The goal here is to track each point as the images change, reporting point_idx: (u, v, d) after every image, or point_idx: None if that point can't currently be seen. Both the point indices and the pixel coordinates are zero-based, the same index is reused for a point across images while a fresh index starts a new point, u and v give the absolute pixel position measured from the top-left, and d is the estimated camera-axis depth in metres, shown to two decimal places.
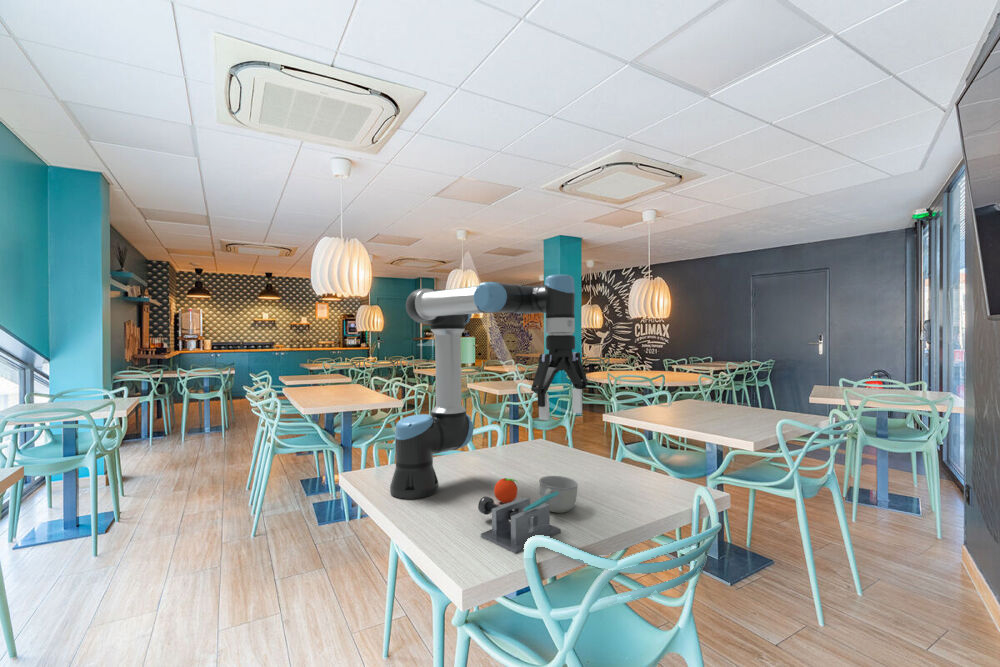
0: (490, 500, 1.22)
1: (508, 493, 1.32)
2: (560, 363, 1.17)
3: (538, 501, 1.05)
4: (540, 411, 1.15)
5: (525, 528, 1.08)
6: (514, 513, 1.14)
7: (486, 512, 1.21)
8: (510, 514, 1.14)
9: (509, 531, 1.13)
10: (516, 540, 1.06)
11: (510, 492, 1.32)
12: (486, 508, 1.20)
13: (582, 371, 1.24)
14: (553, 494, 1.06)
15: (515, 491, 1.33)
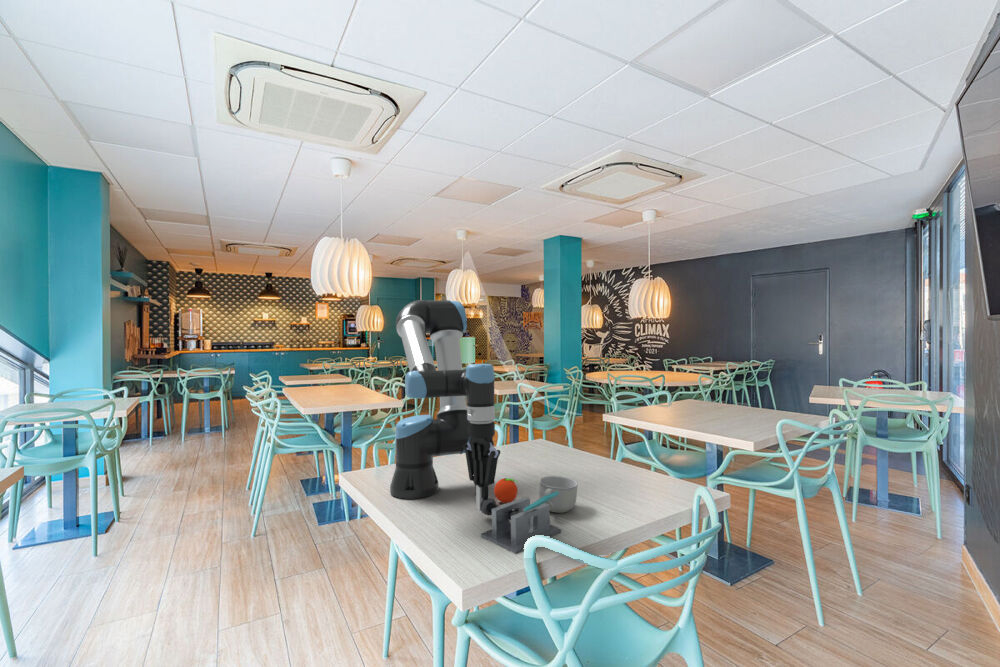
0: (492, 501, 1.22)
1: (508, 493, 1.32)
2: (472, 450, 1.23)
3: (538, 501, 1.05)
4: None
5: (525, 528, 1.08)
6: None
7: (488, 513, 1.21)
8: None
9: (509, 531, 1.13)
10: (516, 540, 1.06)
11: (510, 492, 1.32)
12: (488, 509, 1.20)
13: (487, 469, 1.20)
14: (553, 494, 1.06)
15: (515, 491, 1.33)
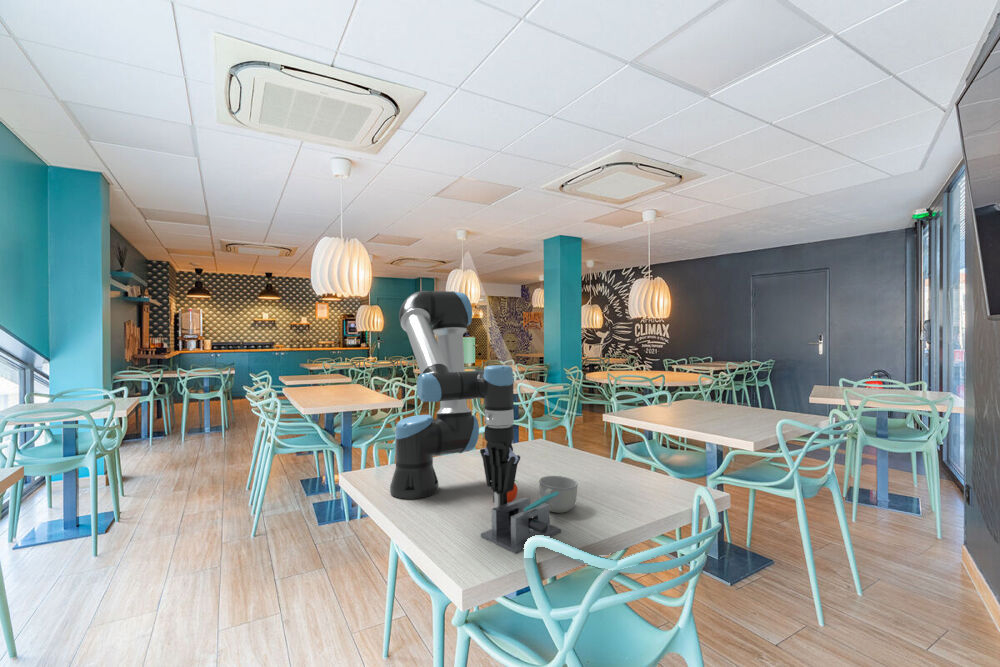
0: None
1: (508, 493, 1.32)
2: (490, 455, 1.18)
3: (538, 501, 1.05)
4: None
5: (525, 528, 1.08)
6: (538, 522, 1.08)
7: None
8: (534, 523, 1.08)
9: (509, 531, 1.13)
10: (516, 540, 1.06)
11: (510, 492, 1.32)
12: None
13: (506, 475, 1.15)
14: (553, 494, 1.06)
15: (515, 491, 1.33)
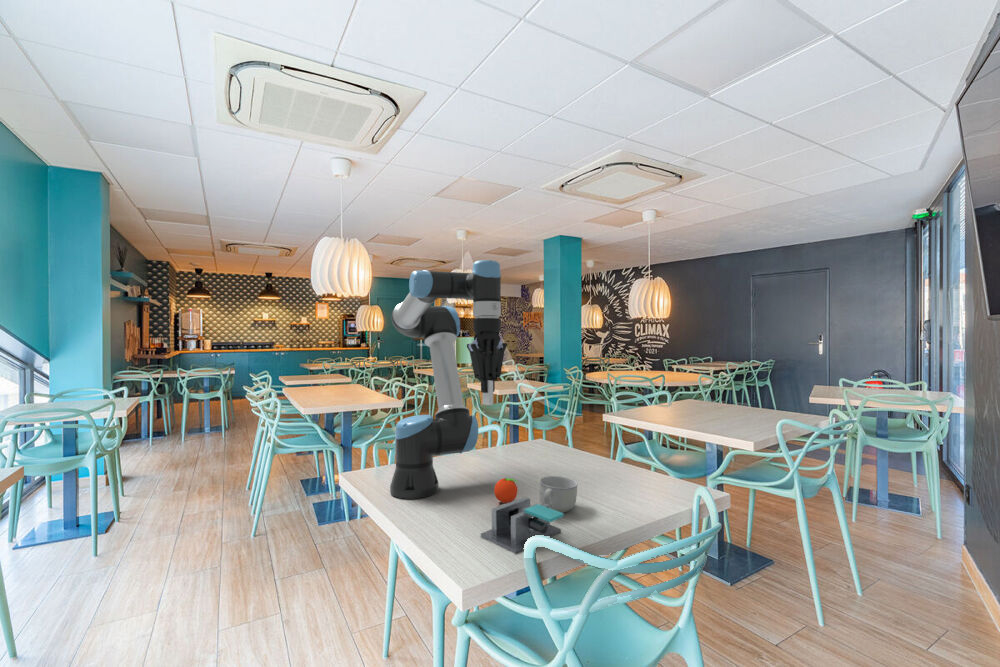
0: None
1: (508, 493, 1.32)
2: (487, 346, 1.23)
3: (542, 517, 1.05)
4: (483, 397, 1.25)
5: (525, 528, 1.08)
6: (538, 522, 1.08)
7: None
8: (534, 523, 1.08)
9: (509, 531, 1.13)
10: (516, 540, 1.06)
11: (510, 492, 1.32)
12: None
13: (500, 361, 1.26)
14: (558, 517, 1.05)
15: (515, 491, 1.33)
